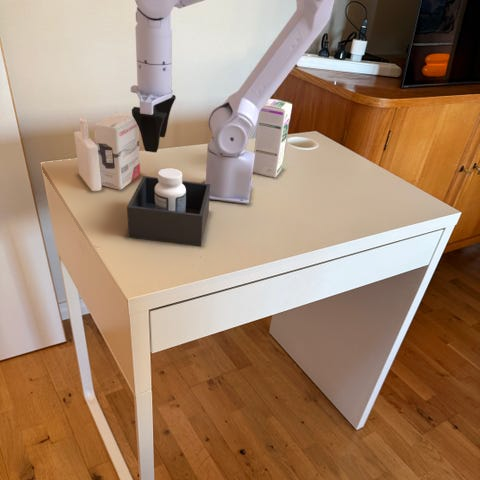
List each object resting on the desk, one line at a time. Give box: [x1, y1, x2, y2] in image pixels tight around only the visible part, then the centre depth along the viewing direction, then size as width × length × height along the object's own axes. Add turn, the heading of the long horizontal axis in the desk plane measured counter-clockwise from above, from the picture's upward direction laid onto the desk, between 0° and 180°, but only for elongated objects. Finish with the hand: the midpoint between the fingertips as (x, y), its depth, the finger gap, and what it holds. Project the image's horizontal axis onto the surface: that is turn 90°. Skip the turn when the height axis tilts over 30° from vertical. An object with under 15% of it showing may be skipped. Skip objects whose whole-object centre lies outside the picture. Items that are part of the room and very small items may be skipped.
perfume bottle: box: [73, 117, 102, 192], centre depth 86 cm, size 8×2×12 cm, turn 32°
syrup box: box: [253, 98, 293, 178], centre depth 99 cm, size 6×6×14 cm
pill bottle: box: [155, 167, 186, 213], centre depth 78 cm, size 5×5×9 cm
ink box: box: [93, 112, 141, 191], centre depth 88 cm, size 8×5×12 cm, turn 162°
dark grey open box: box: [126, 175, 211, 247], centre depth 79 cm, size 12×12×6 cm
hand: (155, 143), depth 84 cm, fingers open, 7 cm apart
